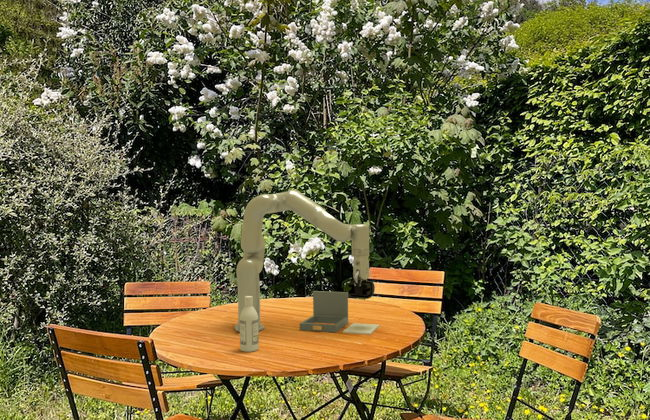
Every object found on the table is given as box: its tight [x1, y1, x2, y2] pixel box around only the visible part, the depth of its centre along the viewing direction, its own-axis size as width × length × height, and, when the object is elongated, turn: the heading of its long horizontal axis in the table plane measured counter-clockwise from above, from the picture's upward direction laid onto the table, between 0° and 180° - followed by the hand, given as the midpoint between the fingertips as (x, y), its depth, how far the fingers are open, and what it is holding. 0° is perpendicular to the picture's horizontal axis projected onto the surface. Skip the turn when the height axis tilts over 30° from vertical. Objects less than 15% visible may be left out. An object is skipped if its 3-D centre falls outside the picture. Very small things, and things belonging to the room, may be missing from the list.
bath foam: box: [239, 296, 260, 353], centre depth 204 cm, size 7×7×20 cm
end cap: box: [347, 280, 376, 300], centre depth 234 cm, size 10×7×7 cm
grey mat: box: [342, 322, 380, 336], centre depth 234 cm, size 16×12×1 cm
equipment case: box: [299, 290, 349, 333], centre depth 240 cm, size 19×16×14 cm
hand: (361, 293), depth 234 cm, fingers closed on end cap, 7 cm apart
